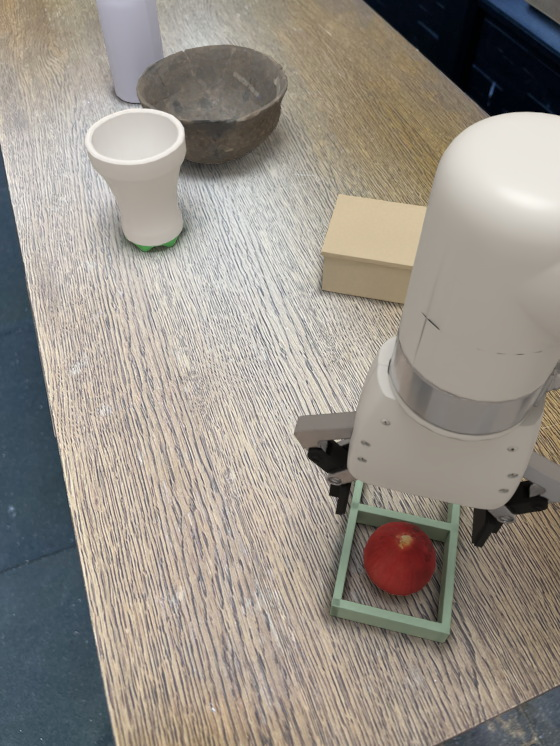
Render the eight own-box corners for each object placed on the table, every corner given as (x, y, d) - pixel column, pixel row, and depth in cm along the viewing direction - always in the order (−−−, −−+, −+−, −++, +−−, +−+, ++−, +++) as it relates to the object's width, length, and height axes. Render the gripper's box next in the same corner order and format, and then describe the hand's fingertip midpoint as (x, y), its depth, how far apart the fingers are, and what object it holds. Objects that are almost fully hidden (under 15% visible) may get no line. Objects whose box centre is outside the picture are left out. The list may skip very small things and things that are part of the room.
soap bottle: (124, 73, 109) (90, -95, 90) (176, 80, 107) (153, -89, 88) (102, 99, 104) (61, -73, 85) (156, 107, 102) (127, -66, 83)
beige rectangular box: (515, 262, 80) (531, 221, 75) (513, 324, 74) (530, 284, 69) (335, 234, 83) (338, 193, 78) (318, 291, 77) (321, 251, 72)
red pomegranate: (391, 530, 58) (404, 488, 52) (441, 577, 56) (461, 538, 49) (346, 572, 56) (353, 533, 50) (395, 623, 53) (410, 589, 47)
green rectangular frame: (460, 454, 63) (466, 441, 61) (443, 643, 52) (449, 634, 50) (364, 435, 65) (367, 421, 63) (329, 615, 54) (331, 605, 52)
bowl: (197, 95, 104) (190, 31, 97) (311, 128, 98) (314, 63, 90) (118, 162, 93) (103, 96, 85) (242, 204, 87) (238, 137, 79)
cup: (147, 276, 79) (125, 176, 68) (93, 235, 84) (63, 135, 72) (216, 232, 84) (205, 132, 73) (160, 195, 88) (142, 96, 77)
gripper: (637, 341, 34) (533, 493, 48) (315, 283, 36) (303, 443, 50) (652, 463, 30) (532, 592, 43) (284, 387, 32) (279, 532, 46)
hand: (409, 512), depth 47 cm, fingers open, 9 cm apart
